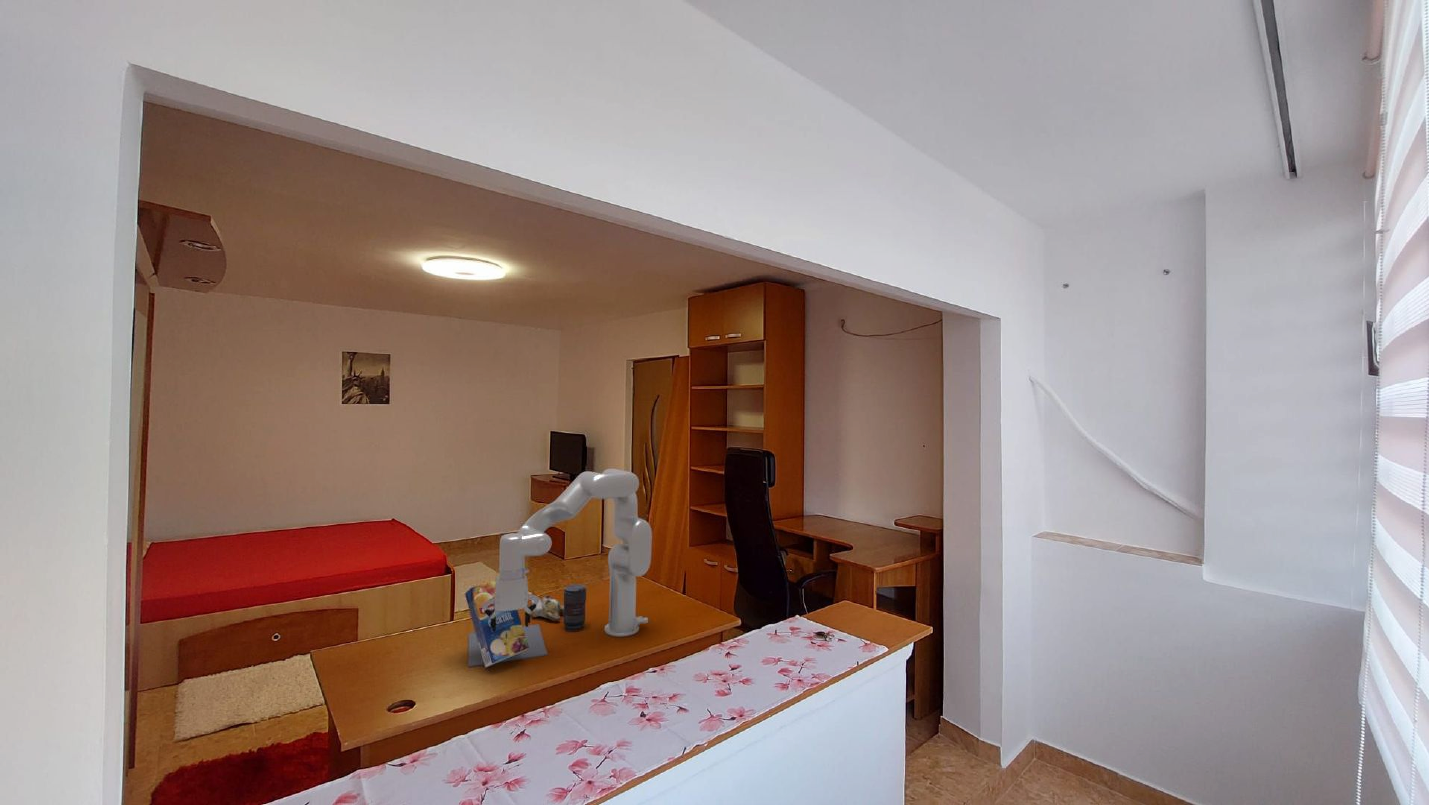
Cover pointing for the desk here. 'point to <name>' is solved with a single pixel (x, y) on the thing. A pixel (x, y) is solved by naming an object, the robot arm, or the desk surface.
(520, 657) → the mat
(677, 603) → the desk surface
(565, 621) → the camera lens
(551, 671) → the desk surface
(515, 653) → the juice carton
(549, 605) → the ceramic sculpture
